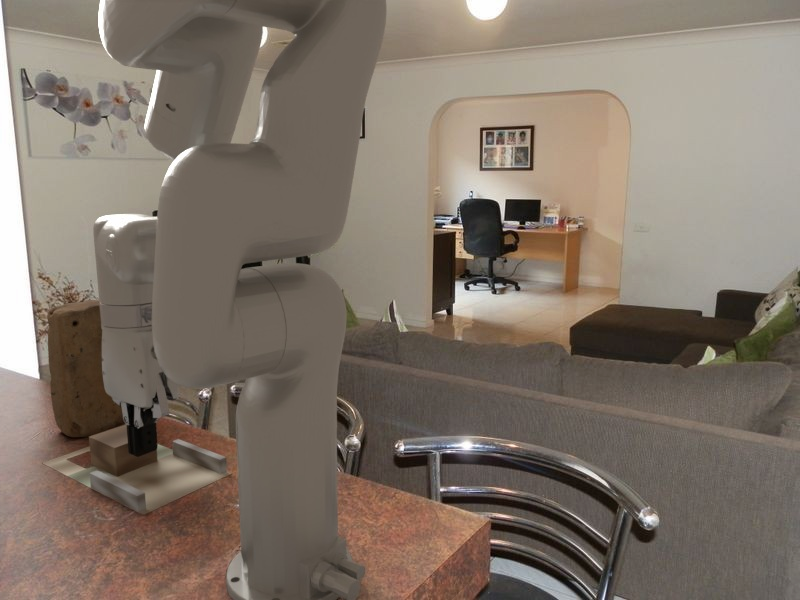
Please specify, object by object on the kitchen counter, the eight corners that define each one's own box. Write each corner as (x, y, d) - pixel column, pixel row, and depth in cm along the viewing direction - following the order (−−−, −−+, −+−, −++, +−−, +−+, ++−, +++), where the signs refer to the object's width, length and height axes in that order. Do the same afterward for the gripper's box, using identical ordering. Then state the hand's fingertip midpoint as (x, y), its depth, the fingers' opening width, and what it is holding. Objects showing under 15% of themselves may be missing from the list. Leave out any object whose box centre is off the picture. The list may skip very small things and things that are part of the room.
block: (71, 444, 98) (59, 312, 94) (50, 431, 103) (37, 304, 99) (141, 424, 106) (132, 301, 102) (119, 412, 111) (109, 294, 107)
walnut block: (157, 460, 91) (155, 433, 90) (117, 477, 86) (114, 447, 85) (131, 449, 94) (129, 423, 93) (91, 464, 89) (88, 436, 88)
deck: (232, 480, 87) (231, 459, 87) (144, 522, 77) (142, 498, 76) (129, 438, 100) (128, 419, 100) (42, 469, 90) (40, 449, 89)
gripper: (196, 317, 82) (204, 456, 85) (125, 302, 90) (135, 429, 94) (142, 328, 76) (152, 478, 79) (71, 311, 84) (84, 447, 88)
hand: (143, 451), depth 86 cm, fingers closed
